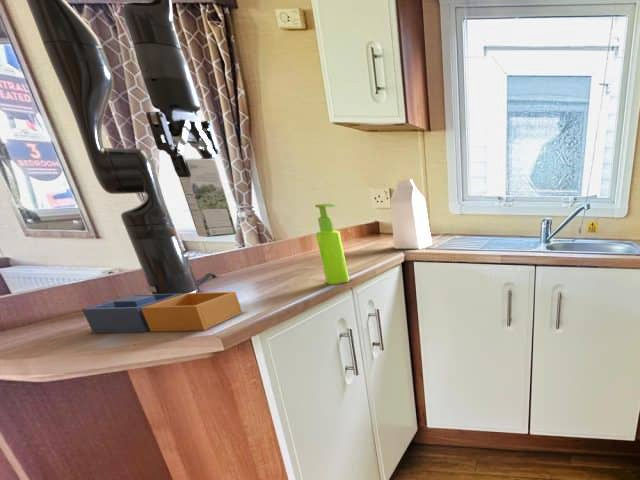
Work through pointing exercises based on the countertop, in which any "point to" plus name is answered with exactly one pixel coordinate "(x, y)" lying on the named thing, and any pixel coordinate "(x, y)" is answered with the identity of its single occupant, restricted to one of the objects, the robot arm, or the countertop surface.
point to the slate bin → (121, 316)
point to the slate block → (134, 301)
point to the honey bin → (192, 311)
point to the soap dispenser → (331, 249)
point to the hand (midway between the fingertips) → (199, 177)
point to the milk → (409, 217)
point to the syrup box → (207, 199)
